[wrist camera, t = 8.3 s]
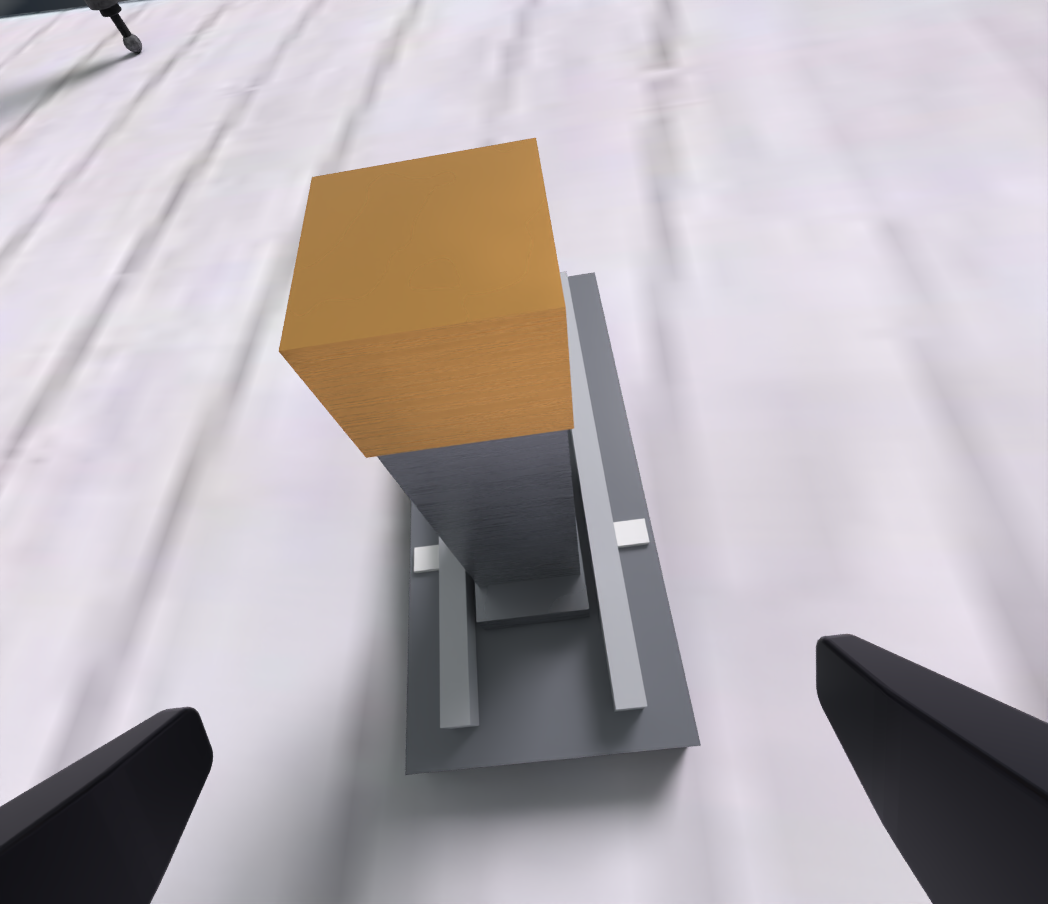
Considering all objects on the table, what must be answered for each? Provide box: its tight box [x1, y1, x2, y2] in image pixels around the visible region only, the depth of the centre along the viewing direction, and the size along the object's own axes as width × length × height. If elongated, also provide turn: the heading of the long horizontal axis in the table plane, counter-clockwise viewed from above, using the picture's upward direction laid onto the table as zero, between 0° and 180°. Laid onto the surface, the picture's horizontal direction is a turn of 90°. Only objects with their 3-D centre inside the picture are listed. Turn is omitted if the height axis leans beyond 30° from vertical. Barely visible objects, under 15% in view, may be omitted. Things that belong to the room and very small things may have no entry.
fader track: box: [405, 271, 701, 775], centre depth 19 cm, size 18×8×3 cm, turn 5°
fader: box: [279, 138, 590, 630], centre depth 12 cm, size 5×3×12 cm, turn 5°
